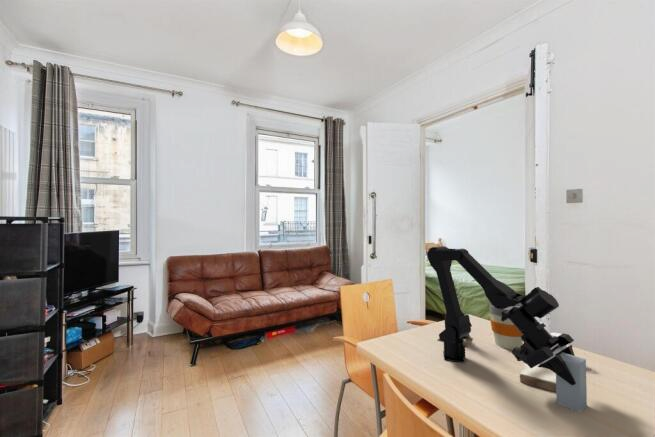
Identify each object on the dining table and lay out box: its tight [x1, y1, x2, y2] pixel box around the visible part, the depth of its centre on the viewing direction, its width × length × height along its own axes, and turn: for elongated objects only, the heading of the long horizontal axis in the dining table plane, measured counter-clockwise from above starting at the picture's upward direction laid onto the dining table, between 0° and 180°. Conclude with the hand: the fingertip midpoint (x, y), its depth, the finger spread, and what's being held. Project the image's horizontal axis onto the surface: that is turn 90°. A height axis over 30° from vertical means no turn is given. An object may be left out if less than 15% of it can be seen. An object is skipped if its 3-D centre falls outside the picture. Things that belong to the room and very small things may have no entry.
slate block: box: [555, 353, 588, 413], centre depth 80 cm, size 5×5×12 cm
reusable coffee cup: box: [488, 302, 524, 350], centre depth 117 cm, size 13×12×15 cm
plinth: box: [519, 362, 556, 392], centre depth 91 cm, size 10×10×2 cm
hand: (577, 381), depth 78 cm, fingers closed on slate block, 5 cm apart
